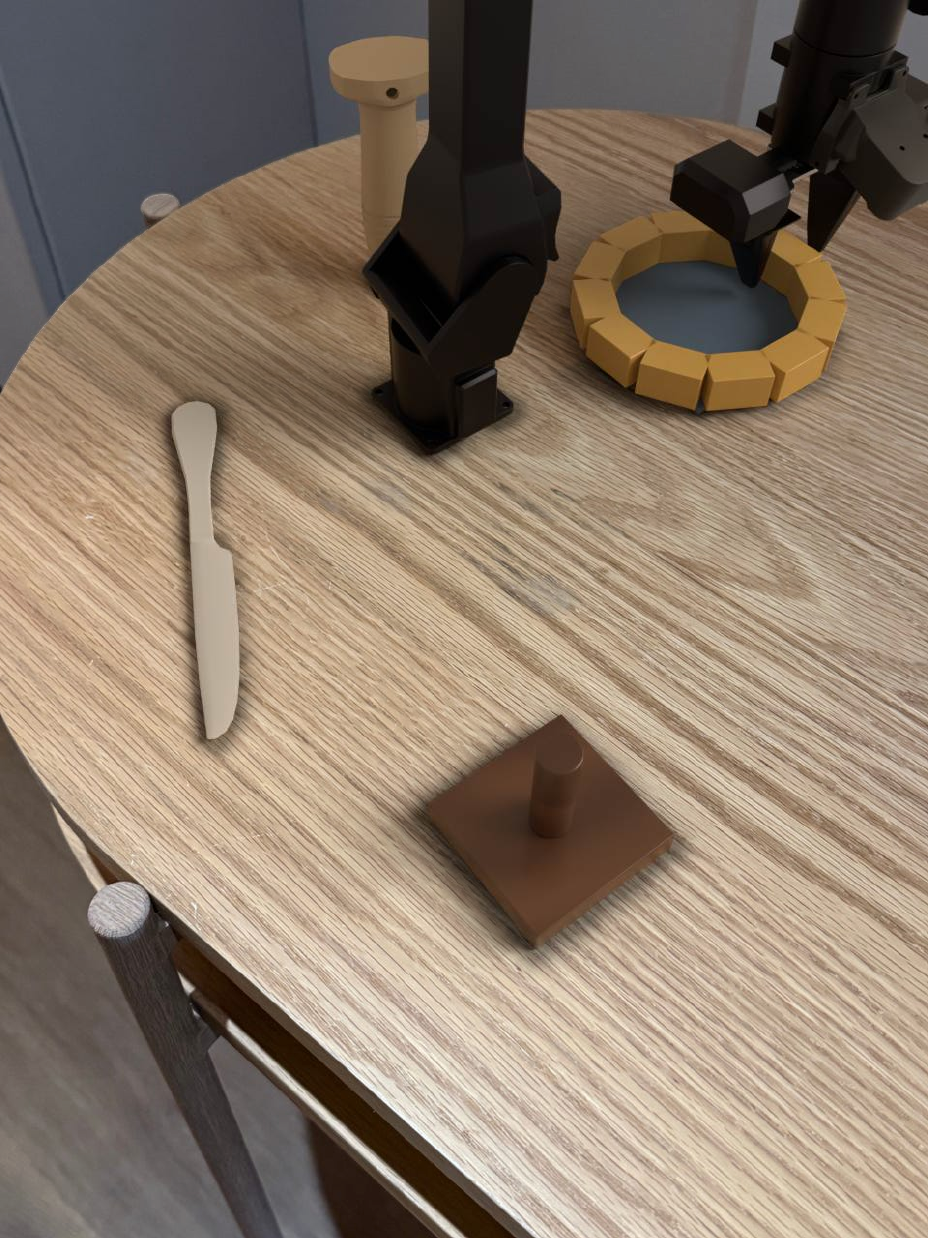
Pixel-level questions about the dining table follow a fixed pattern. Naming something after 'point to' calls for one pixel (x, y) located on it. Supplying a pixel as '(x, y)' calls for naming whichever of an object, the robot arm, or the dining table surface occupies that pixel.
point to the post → (549, 829)
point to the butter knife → (208, 571)
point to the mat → (705, 308)
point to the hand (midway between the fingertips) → (782, 266)
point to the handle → (383, 120)
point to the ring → (689, 371)
